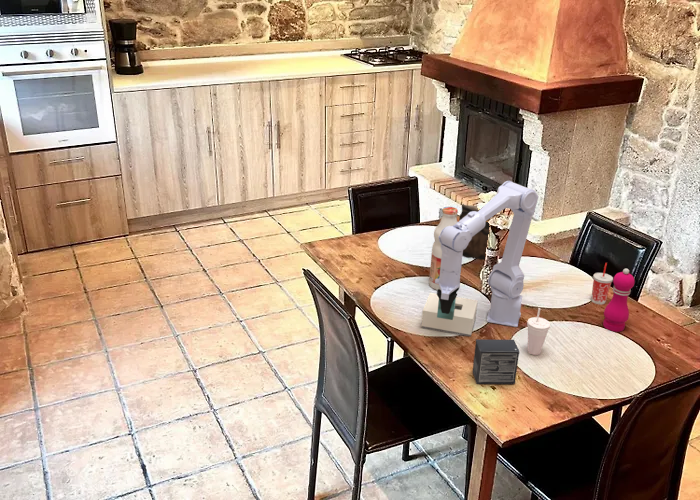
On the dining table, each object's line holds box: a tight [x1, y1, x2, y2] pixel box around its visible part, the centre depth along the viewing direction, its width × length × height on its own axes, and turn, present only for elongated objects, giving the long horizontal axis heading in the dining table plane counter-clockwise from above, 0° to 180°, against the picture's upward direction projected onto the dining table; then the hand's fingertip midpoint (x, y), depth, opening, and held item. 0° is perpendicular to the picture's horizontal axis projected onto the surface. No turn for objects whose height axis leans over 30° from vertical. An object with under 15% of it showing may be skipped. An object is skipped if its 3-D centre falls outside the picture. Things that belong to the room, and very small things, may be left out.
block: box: [437, 298, 456, 320], centre depth 195 cm, size 4×2×6 cm, turn 73°
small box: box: [471, 338, 520, 385], centre depth 181 cm, size 11×6×10 cm, turn 92°
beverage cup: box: [590, 262, 614, 305], centre depth 222 cm, size 6×6×14 cm
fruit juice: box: [428, 206, 459, 291], centre depth 226 cm, size 9×9×28 cm
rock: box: [458, 203, 490, 261], centre depth 251 cm, size 13×13×20 cm
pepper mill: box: [602, 268, 635, 333], centre depth 206 cm, size 7×7×20 cm
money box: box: [420, 292, 479, 337], centre depth 208 cm, size 15×12×6 cm
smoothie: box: [526, 307, 551, 356], centre depth 193 cm, size 6×6×14 cm
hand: (446, 310), depth 195 cm, fingers closed on block, 2 cm apart
